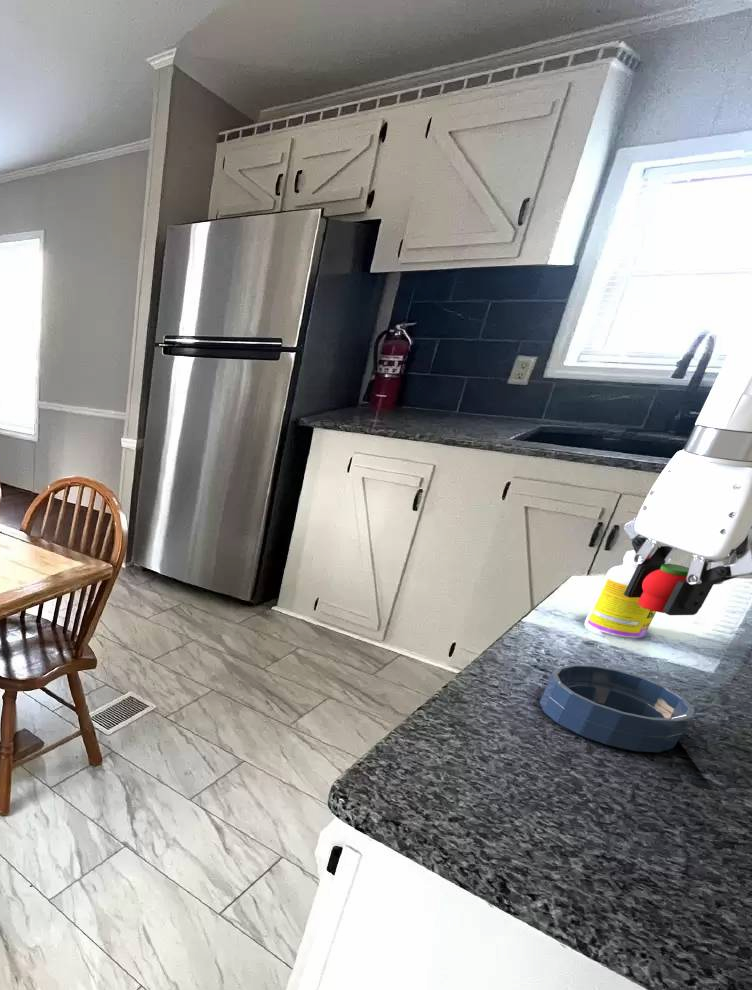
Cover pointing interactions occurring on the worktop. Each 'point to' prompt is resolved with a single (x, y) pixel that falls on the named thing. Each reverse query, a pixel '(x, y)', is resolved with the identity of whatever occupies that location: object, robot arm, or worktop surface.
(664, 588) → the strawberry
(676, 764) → the worktop surface
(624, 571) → the supplement bottle
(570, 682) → the bowl
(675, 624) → the worktop surface
